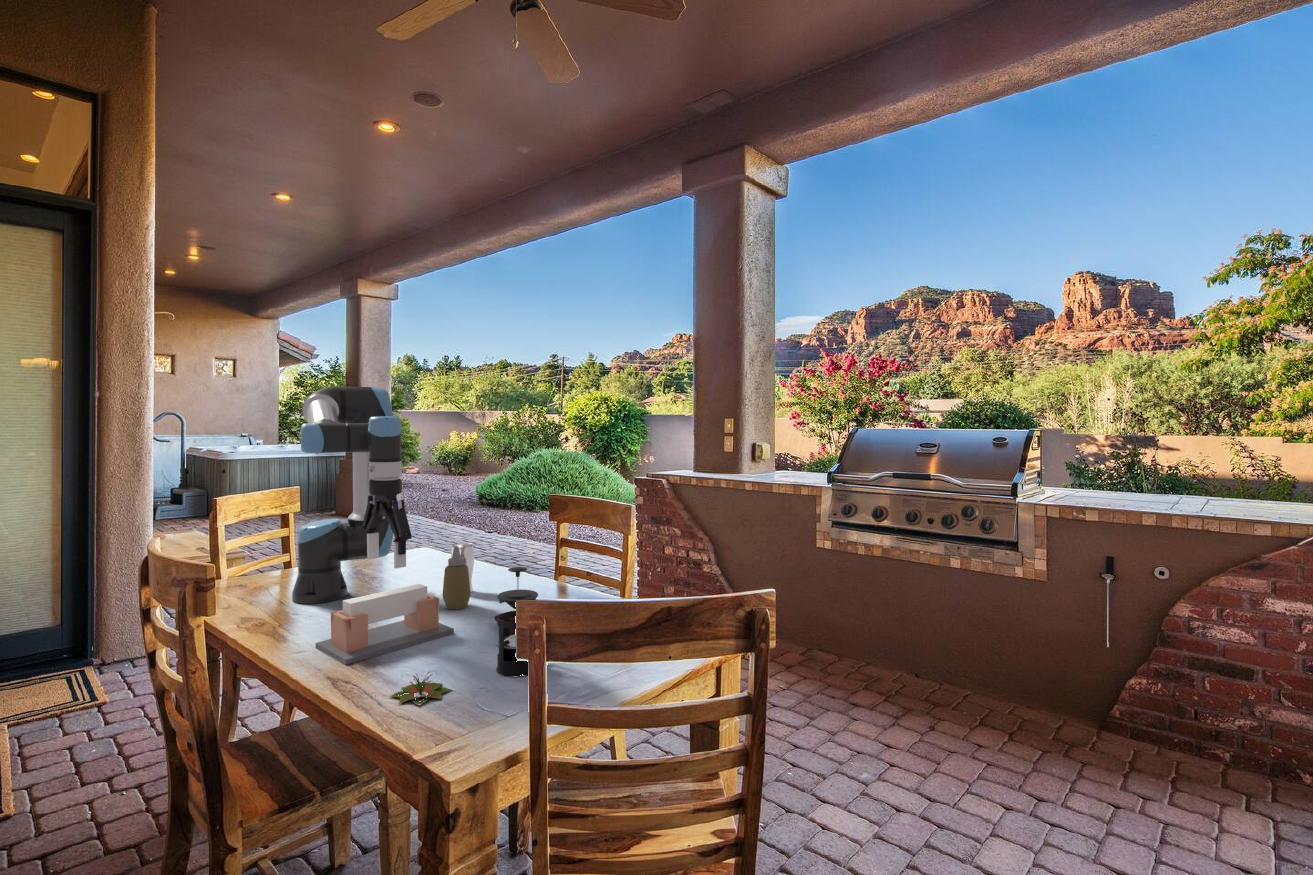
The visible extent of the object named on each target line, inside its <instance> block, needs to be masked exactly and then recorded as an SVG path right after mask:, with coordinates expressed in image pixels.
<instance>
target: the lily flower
mask: <svg viewBox="0 0 1313 875" xmlns="http://www.w3.org/2000/svg"><path fill="white" fill-rule="evenodd" d="M428 674H429V675H428ZM416 676H417V677H416ZM431 676H433V673H431V674H430V670H429V671H428V672H427V673H426V675H425V677H423V679H422V680H421V681H420V677H419V676H418V674H417V673H415V675H412V677H413V681H415V684H414V683H413V681H409V684H407V685H406V686H402V687H401V689H402V690H403V691H402V690H401V691H397V692H395V693H393V694H391V695H389V697H390V698H391V697H392V698H393V697H394V698H399V702H398V703H397V705H399V704H402V703H405V702H407V701H410V702H412V703H413V704H415V705H417V706H418V707H420V706H422V705H423V704H424V703H426V702H428V701H429V700H430V698H433V699H439V700H443V699H442V694H444V693H447V692H451V691H452V689H451V688H447V687H443V686H441V685H443V684H442V682H441V683H440V682H432V680H429V679H430V677H431ZM421 678H422V675H421ZM428 680H429V681H428ZM422 686H423V687H422ZM404 693H409V694H404ZM414 693H417V694H419V696H420V697H418V696H416V697H414ZM423 693H428V695H427V696H426V695H423ZM403 694H404V695H403ZM420 694H421V695H422V696H421V695H420ZM398 695H399V696H398ZM400 695H402V696H400ZM425 697H427V698H425ZM415 698H417V699H418V700H419V698H423V699H424V698H425V699H424V700H422V699H421V700H422V701H421V700H420V701H421V702H419V701H418V700H417V699H416V700H415ZM418 704H421V705H420V706H419V705H418Z"/></svg>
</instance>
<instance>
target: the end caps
mask: <svg viewBox="0 0 1313 875" xmlns="http://www.w3.org/2000/svg"><path fill="white" fill-rule="evenodd" d="M439 605H440V604H439V597H437V596H435V595H432V594H429V593H427V599H425V600H421V601H418V612H415V613H411V614H407V615H403V618H404V619H403V620H398V621H395V622H393V623H392V622H391V623H387V624H384V625H380V626H375V627H373V628H372V627H371V628H369V624H368V615H367V614H362V615H358V616H353V617H349V618H348V617H346V616H344V615H343V609H341V610H336V611H333V612H330V638H329V639H326V640H321V641H317V642H315V645H314V646H315V649H317V650H319V651H320V652H322V653H323V654H325V655H327V656H329V657H331V658H333V659H335V660H336V661H338V662H339V663H341V662H342V664H343V663H344V664H343V665H345V666H346V664H347V665H350V664H353V662H354V663H356V662H360V661H363V660H366V659H367V660H368V659H369V658H374V657H378V656H381V655H384V654H387V653H391V652H394V651H397V650H402V649H405V648H408V647H409V648H410V647H412V646H415V645H419V644H422V643H426V642H429V641H433V640H436V639H439V638H444V637H445V636H446V637H447V636H449V635H453V634H455V628H453V627H451V626H449V625H445V624H444V623H441V622H439V620H440V616H439V610H440V609H439V608H440V607H439ZM425 641H426V642H425Z"/></svg>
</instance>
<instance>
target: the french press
mask: <svg viewBox="0 0 1313 875" xmlns="http://www.w3.org/2000/svg"><path fill="white" fill-rule="evenodd" d="M526 571H528V568H527V567H525V566H512V567H510V568H508V572H510V573H515V578H516V589H511V590H510V589H509V590H505V591H503V592H500V593H498V594H497V596H496V597H497V599H498V602H499V605H500V604H503V603H506V604H507V605H508V606H509V607H511V608H513V609H514V610H510V611H505V612H503V613H502V614H501V613H499V614H500V615H499V616H498V617H497V621H496V624H497V625H498V654H497V659H496V660H497V666H496V673H497V674H498V673H499V675H500V674H501V675H500V676H502V675H504V676H503V677H506V676H520V675H521V676H522V674H523V675H526V676H529V675H528V662H527V661H517V659H516V657H515V653H516V635H510V629H516V623H510V617H514V616H516V610H517V609H516V607H515V602H516V600H536V601H537V598H538V596H539V593H538V592H537V591H535V590H532V589H519V588H520V587H519V584H520V583H519V582H520V581H519V579H520V577H521V573H523V572H526ZM502 619H503V621H501V620H502ZM516 661H517V662H516ZM526 676H525V677H526ZM522 677H523V676H522Z"/></svg>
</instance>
